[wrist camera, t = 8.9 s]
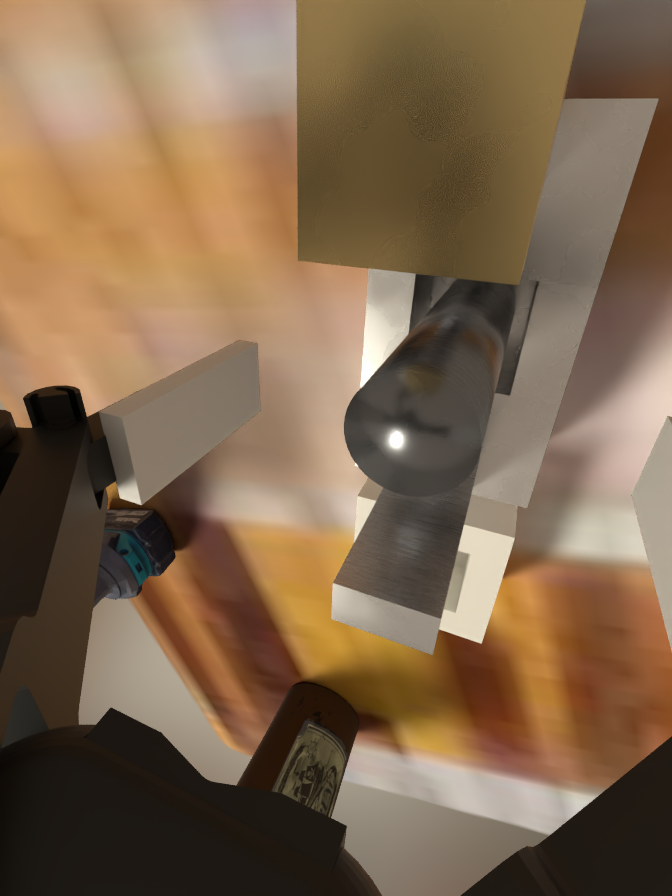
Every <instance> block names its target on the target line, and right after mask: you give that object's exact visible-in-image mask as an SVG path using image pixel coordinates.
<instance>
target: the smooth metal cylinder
mask: <svg viewBox="0 0 672 896" xmlns="http://www.w3.org/2000/svg"><path fill="white" fill-rule="evenodd" d="M514 313H515V298H514V294H513V292H512V290H511V288H510V287H509V285H508V284H504V283H495V282H486V281H477V280H468V279H458V280H456V281H455V282H454V283H453V284H452V285H451V286H450V287H449V289H448V290H447V291H446V292H445V293H444V294H443V295H442V296H441V298H440V299H439V300H438V301H437V302H436V303H435V304H434V306H433V307H432V308H431V309H430V310H429V311H428V312H427V314H426V315H425V316H424V317H423V318H422V319H421V320H420V322H419V323H418V324H417V325H416V326H415V327H414V328H413V330H412V331H411V332H410V333H409V334H408V335H407V336H406V337H405V339H404V340H403V341H402V342H401V343H400V344H399V345H398V347H397V348H396V349H395V350H394V351H393V352H392V353H391V355H390V356H389V357H388V358H387V359H386V360H385V361H384V363H383V364H382V365H381V366H380V367H379V368H378V369H377V371H376V372H375V373H374V374H373V375H372V376H371V377H370V378H369V380H368V381H367V382H366V383H365V384H364V385H363V386H362V388H361V389H360V390H359V391H358V392H357V393H356V394H355V396H354V397H353V399H352V400H351V402H350V404H349V406H348V408H347V411H346V415H345V421H344V434H345V440H346V444H347V447H348V450H349V452H350V454H351V456H352V458H353V460H354V461H355V463H356V464H357V465H358V467H359V468H360V469H361V470H362V471H363V472H364V474H365V475H367V476H368V477H369V478H370V479H371V480H373V481H374V482H375V483H377V484H378V485H380V486H382V487H384V488H385V489H388V490H390V491H392V492H395V493H398V494H401V495H406V496H413V497H429V496H435V495H439V494H443V493H445V492H448V491H450V490H452V489H454V488H456V487H457V486H459V485H460V484H461V483H463V482H464V481H465V480H466V479H467V478H468V477H469V476H470V474H471V473H472V472H473V470H474V468H475V466H476V464H477V462H478V459H479V456H480V453H481V449H482V445H483V441H484V436H485V432H486V428H487V424H488V420H489V416H490V412H491V408H492V404H493V400H494V395H495V391H496V387H497V383H498V379H499V375H500V371H501V367H502V363H503V359H504V355H505V350H506V346H507V342H508V338H509V334H510V330H511V326H512V322H513V318H514Z"/></svg>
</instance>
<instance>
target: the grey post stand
mask: <svg viewBox="0 0 672 896" xmlns="http://www.w3.org/2000/svg"><path fill="white" fill-rule="evenodd" d="M574 53H575V52H574ZM573 57H574V56H573ZM572 62H573V60H572ZM571 67H572V65H571ZM570 72H571V69H570ZM569 76H570V73H569ZM568 81H569V77H568ZM567 86H568V82H567ZM567 86H566V90H567ZM566 90H565V94H564V99H563V103H562V107H561V112H560V116H559V120H558V124H557V129H556V133H555V137H554V141H553V146H552V150H551V154H550V158H549V163H548V167H547V171H546V175H545V180H544V184H543V188H542V192H541V197H540V201H539V205H538V209H537V214H536V218H535V222H534V226H533V231H532V235H531V239H530V243H529V248H528V252H527V256H526V260H525V264H524V268H523V272H522V275H521V279H520V283H519V285H513V284H508V285H509V287H510V288H511V290H512V292H513V294H514V298H515V313H514V318H513V322H512V326H511V330H510V334H509V338H508V342H507V346H506V350H505V355H504V359H503V363H502V367H501V371H500V375H499V379H498V383H497V387H496V391H495V395H494V400H493V404H492V408H491V412H490V416H489V420H488V424H487V428H486V432H485V436H484V441H483V445H482V449H481V453H480V456H479V459H478V462H477V464H476V466H475V468H474V470H473V472H472V473H471V474H470V476H469V477H468V478H467V479H466V480H465V481H464V482H463V483H461V484H460V485H459V486H457V487H456V488H454V489H452V490H450V491H448V492H445V493H443V494H439V495H435V496H429V497H413V496H406V495H401V494H398V493H395V492H392V491H390V490H388V489H385V488H384V487H383V489H382V491H381V493H380V495H379V497H378V499H377V501H376V503H375V504H374V506H373V508H372V510H371V512H370V514H369V516H368V518H367V520H366V522H365V523H364V525H363V527H362V529H361V531H360V533H359V535H358V537H357V539H356V540H355V542H354V544H353V546H352V548H351V550H350V552H349V554H348V556H347V558H346V559H345V561H344V563H343V565H342V567H341V569H340V571H339V573H338V575H337V576H336V578H335V580H334V582H333V593H332V614H331V619H333V620H336V621H338V622H341V623H344V624H347V625H350V626H352V627H355V628H358V629H361V630H364V631H366V632H369V633H372V634H375V635H378V636H380V637H383V638H386V639H389V640H392V641H394V642H397V643H400V644H403V645H406V646H408V647H411V648H414V649H417V650H420V651H422V652H425V653H428V654H431V655H433V652H434V648H435V643H436V639H437V635H438V631H439V627H440V623H441V618H442V614H443V610H444V606H445V602H446V598H447V594H448V589H449V585H450V581H451V577H452V573H453V569H454V565H455V560H456V556H457V552H458V548H459V544H460V540H461V536H462V531H463V527H464V523H465V519H466V515H467V511H468V507H469V502H470V498H471V495H475V496H479V497H483V498H487V499H491V500H495V501H499V502H503V503H507V504H511V505H515V506H519V507H523V508H527V507H528V504H529V501H530V498H531V495H532V492H533V488H534V485H535V482H536V479H537V476H538V473H539V470H540V467H541V464H542V460H543V457H544V454H545V451H546V448H547V445H548V442H549V439H550V436H551V432H552V429H553V426H554V423H555V420H556V417H557V414H558V411H559V408H560V404H561V401H562V398H563V395H564V392H565V389H566V386H567V383H568V380H569V376H570V373H571V370H572V367H573V364H574V361H575V358H576V355H577V352H578V348H579V345H580V342H581V339H582V336H583V333H584V330H585V327H586V324H587V320H588V317H589V314H590V311H591V308H592V305H593V302H594V299H595V296H596V292H597V289H598V286H599V283H600V280H601V277H602V274H603V271H604V268H605V264H606V261H607V258H608V255H609V252H610V249H611V246H612V243H613V240H614V236H615V233H616V230H617V227H618V224H619V221H620V218H621V215H622V212H623V208H624V205H625V202H626V199H627V196H628V193H629V190H630V187H631V184H632V180H633V177H634V174H635V171H636V168H637V165H638V162H639V159H640V156H641V152H642V149H643V146H644V143H645V140H646V137H647V134H648V131H649V128H650V124H651V121H652V118H653V115H654V112H655V109H656V106H657V103H658V100H659V98H642V99H565V95H566ZM458 279H459V278H450V277H441V276H432V275H423V274H414V273H405V272H396V271H387V270H378V269H369V275H368V289H367V303H366V318H365V332H364V346H363V361H362V375H361V388H362V386H363V385H364V384H365V383H366V382H367V381H368V380H369V378H370V377H371V376H372V375H373V374H374V373H375V372H376V371H377V369H378V368H379V367H380V366H381V365H382V364H383V363H384V361H385V360H386V359H387V358H388V357H389V356H390V355H391V353H392V352H393V351H394V350H395V349H396V348H397V347H398V345H399V344H400V343H401V342H402V341H403V340H404V339H405V337H406V336H407V335H408V334H409V333H410V332H411V331H412V330H413V328H414V327H415V326H416V325H417V324H418V323H419V322H420V320H421V319H422V318H423V317H424V316H425V315H426V314H427V312H428V311H429V310H430V309H431V308H432V307H433V306H434V304H435V303H436V302H437V301H438V300H439V299H440V298H441V296H442V295H443V294H444V293H445V292H446V291H447V290H448V289H449V287H450V286H451V285H452V284H453V283H454V282H455V281H456V280H458ZM355 466H357V467H358V465H357V464H356V463H355Z"/></svg>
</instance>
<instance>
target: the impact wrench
mask: <svg viewBox="0 0 672 896" xmlns="http://www.w3.org/2000/svg"><path fill="white" fill-rule="evenodd" d="M174 559H175V551H174V543H173V541H172V539H171V535H170V533H169V532H168V530H167V528H166V526H165V524H164V522H163V521H162V520H161V519H160V518H159V517H158V516H157V514H156V513H155V511H154V510H147V509H126V508H124V509H115V510H112V509H108V510H107V512H106V519H105V526H104V533H103V540H102V547H101V555H100V562H99V569H98V576H97V583H96V590H95V597H94V604H93V608H94V607H95V606H96V605H97V603H98V602H99V601H100V600H101V599H102V598H104V597H106V598H109V599H115V600H116V599H118V598H122V599H123V598H124V599H126V598H133V597H136V596H138V594H139V593H140V592H141V590H142V584H143V582H144V581H145V580H146V579H147V578H148V576H160V575H161V574H162V573H163V572H164V571H165V570H166V569H167V567H168V566H169V565H170V564H171V563H172V562H173V560H174Z"/></svg>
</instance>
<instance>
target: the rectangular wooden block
mask: <svg viewBox="0 0 672 896" xmlns="http://www.w3.org/2000/svg"><path fill="white" fill-rule="evenodd" d="M586 1H587V0H297V166H298V261H306V262H315V263H324V264H333V265H342V266H351V267H360V268H369V269H378V270H387V271H396V272H405V273H414V274H423V275H432V276H441V277H450V278H459V279H468V280H477V281H486V282H495V283H504V284H513V285H519V283H520V279H521V275H522V272H523V268H524V264H525V260H526V256H527V252H528V248H529V243H530V239H531V235H532V231H533V226H534V222H535V218H536V214H537V209H538V205H539V201H540V197H541V192H542V188H543V184H544V180H545V175H546V171H547V167H548V163H549V158H550V154H551V150H552V146H553V141H554V137H555V133H556V129H557V124H558V120H559V116H560V112H561V107H562V103H563V99H564V94H565V90H566V86H567V82H568V77H569V73H570V69H571V65H572V60H573V56H574V52H575V48H576V43H577V39H578V35H579V31H580V26H581V22H582V18H583V14H584V9H585V5H586Z"/></svg>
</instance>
